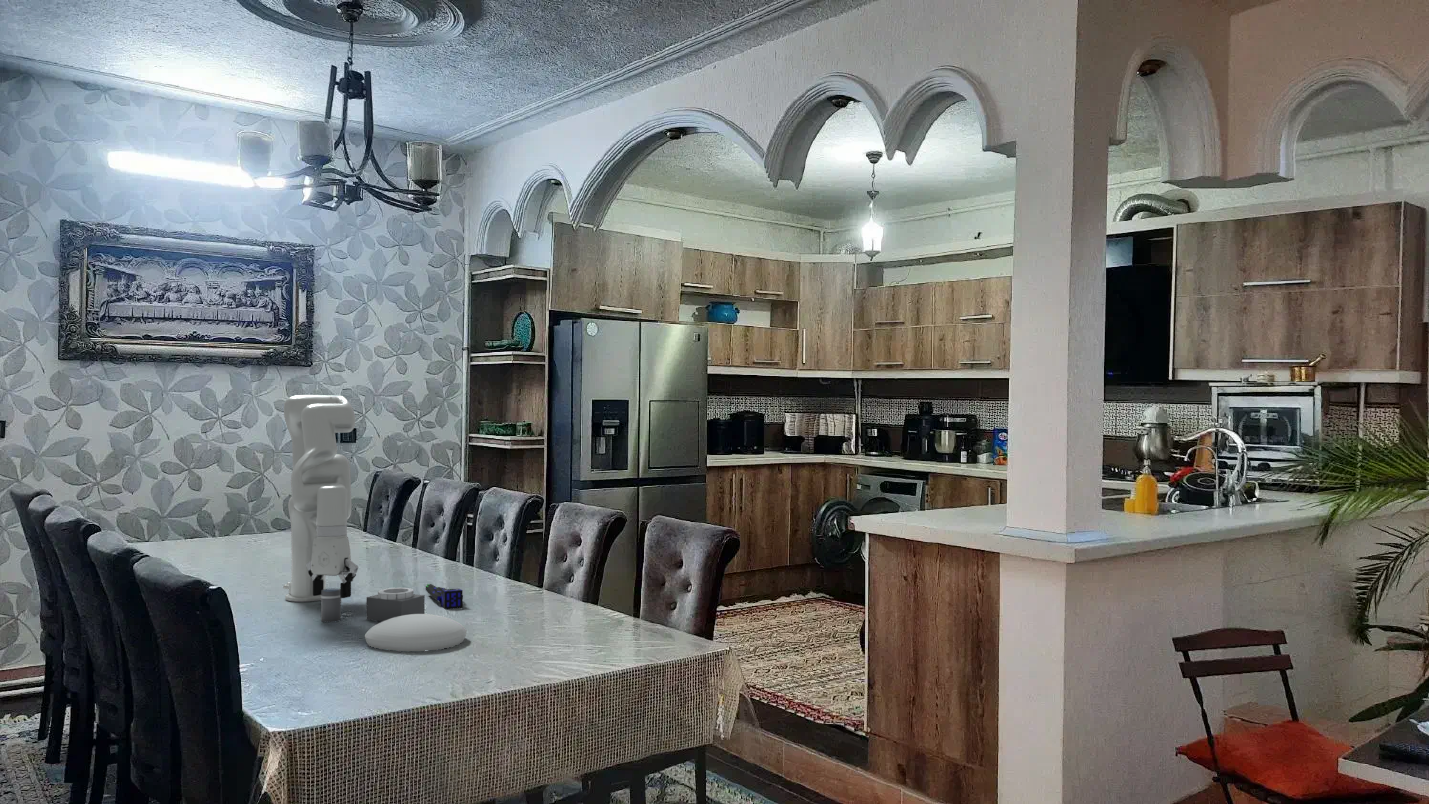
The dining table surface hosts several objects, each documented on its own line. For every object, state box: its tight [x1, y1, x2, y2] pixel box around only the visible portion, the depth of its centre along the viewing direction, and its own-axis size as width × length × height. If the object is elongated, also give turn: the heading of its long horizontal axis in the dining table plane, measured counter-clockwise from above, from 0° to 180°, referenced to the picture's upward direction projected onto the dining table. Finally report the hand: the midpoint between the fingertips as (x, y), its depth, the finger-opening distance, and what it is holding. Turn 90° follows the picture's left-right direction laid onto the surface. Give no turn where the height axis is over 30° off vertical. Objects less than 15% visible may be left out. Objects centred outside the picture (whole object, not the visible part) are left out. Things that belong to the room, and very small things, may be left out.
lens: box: [320, 587, 342, 623], centre depth 271 cm, size 5×5×8 cm
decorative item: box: [364, 613, 467, 652], centre depth 247 cm, size 24×7×20 cm
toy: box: [425, 583, 464, 610], centre depth 301 cm, size 8×5×30 cm
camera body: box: [365, 587, 426, 623], centre depth 273 cm, size 12×9×8 cm
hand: (331, 596), depth 270 cm, fingers open, 9 cm apart
